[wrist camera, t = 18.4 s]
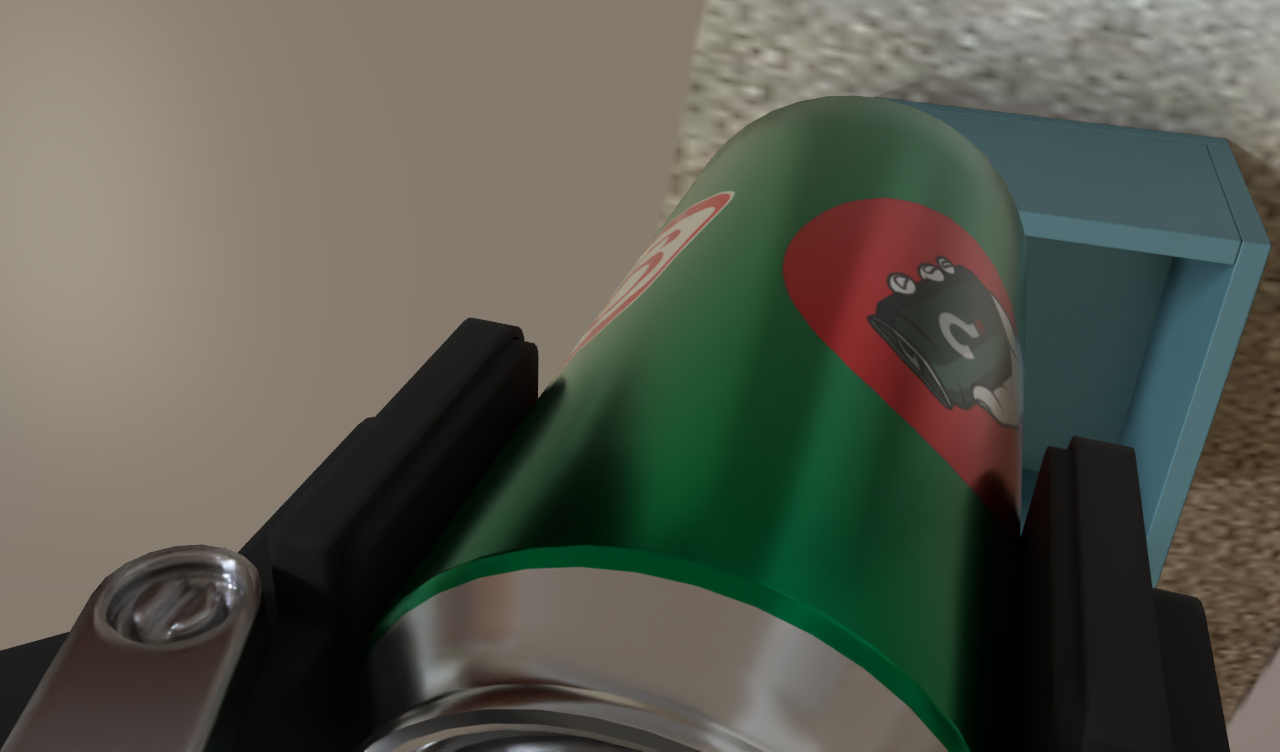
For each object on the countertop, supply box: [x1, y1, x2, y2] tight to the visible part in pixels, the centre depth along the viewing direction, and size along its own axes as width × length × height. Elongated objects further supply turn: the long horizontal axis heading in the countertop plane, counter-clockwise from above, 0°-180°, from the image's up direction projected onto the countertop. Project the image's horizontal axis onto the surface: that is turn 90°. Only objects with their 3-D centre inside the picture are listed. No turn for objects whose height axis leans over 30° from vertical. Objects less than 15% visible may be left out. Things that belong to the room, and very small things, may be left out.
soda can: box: [346, 96, 1027, 752], centre depth 13 cm, size 5×5×12 cm
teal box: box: [874, 97, 1272, 588], centre depth 43 cm, size 16×13×10 cm
